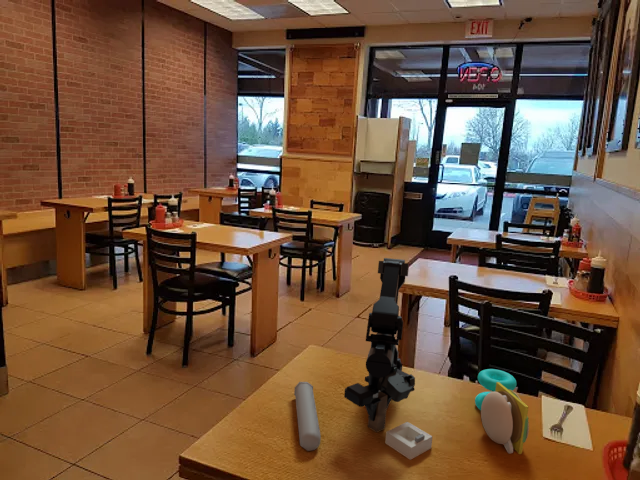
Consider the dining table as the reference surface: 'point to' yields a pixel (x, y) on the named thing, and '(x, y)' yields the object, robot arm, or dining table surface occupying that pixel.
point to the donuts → (493, 382)
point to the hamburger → (505, 418)
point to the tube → (307, 416)
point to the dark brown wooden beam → (379, 414)
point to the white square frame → (408, 440)
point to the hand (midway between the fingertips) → (376, 418)
